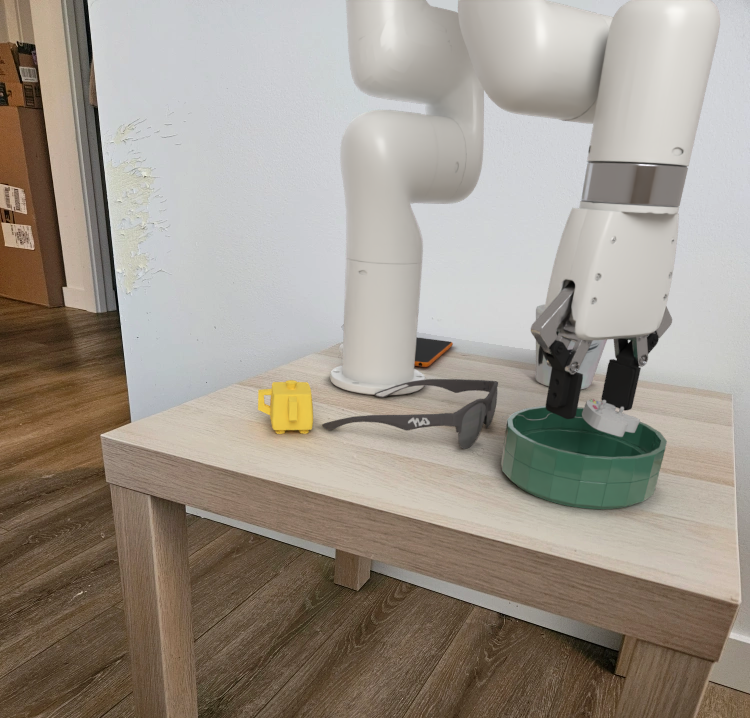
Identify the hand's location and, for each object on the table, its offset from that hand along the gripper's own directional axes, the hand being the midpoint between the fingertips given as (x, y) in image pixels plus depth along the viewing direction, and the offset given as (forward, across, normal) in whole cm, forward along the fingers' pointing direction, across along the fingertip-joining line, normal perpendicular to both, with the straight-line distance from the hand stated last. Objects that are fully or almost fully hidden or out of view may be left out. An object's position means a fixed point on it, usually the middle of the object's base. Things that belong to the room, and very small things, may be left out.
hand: (588, 408), depth 61 cm
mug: (+7, -25, -28) cm, 38 cm away
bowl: (+7, 0, 0) cm, 7 cm away
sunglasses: (+7, +6, -19) cm, 21 cm away
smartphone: (+7, -12, -47) cm, 49 cm away
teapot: (+7, +20, -23) cm, 31 cm away
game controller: (+2, +2, 0) cm, 2 cm away
